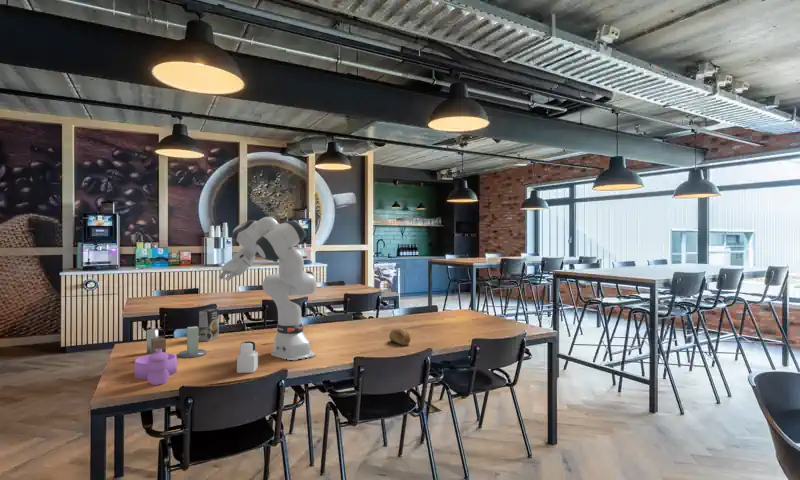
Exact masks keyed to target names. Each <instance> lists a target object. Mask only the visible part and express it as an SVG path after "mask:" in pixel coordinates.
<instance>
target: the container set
mask: <svg viewBox="0 0 800 480" xmlns="http://www.w3.org/2000/svg"><path fill="white" fill-rule="evenodd" d="M177 357H178V355H176V354H175V353H168V352H166V353H165V352H162V349H156V353H153V354H147V355H146V354H145V355H143V356H139V357H137V358H135V359H134V362H133V363H134V367H133V368H134V370H133V371H134V374H133V375H134V376H135V377H136V378H135V377H134V378H135V379H137V378H139V380H147V381H148V383H149V384H150V385H151V384H152V386H160V385H159V384H161V385H164V384H165V383H167V382H168V380H169V378H170V376H172V375H174V374H176V373H177V371H178V370H177V366H178V364H177V363H178V361H177V359H178V358H177Z"/></svg>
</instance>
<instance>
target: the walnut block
mask: <svg viewBox="0 0 800 480" xmlns="http://www.w3.org/2000/svg"><path fill="white" fill-rule="evenodd" d="M166 346H167V339H166V338H165V337H159V338H153V339H151V354H153V353H156V349H162V352H165V353H167V350H166V349H167V347H166ZM151 354H150V355H151Z"/></svg>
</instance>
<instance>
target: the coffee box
mask: <svg viewBox="0 0 800 480" xmlns="http://www.w3.org/2000/svg"><path fill="white" fill-rule="evenodd" d="M198 316H199V317H198V341H199V342H200V341H203V342H209V341H213V340H216V339H219V334H220V332H219V330H220V329H219V328H220V325H219V324H220V320H219V319H220V318H219V317H220V308H208V309H203V310H199V315H198Z"/></svg>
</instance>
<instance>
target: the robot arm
mask: <svg viewBox="0 0 800 480" xmlns="http://www.w3.org/2000/svg"><path fill="white" fill-rule="evenodd" d="M231 237H232V239H233V240H234V242H237V243H238V244H239V245H240V246H241V247H242V248H240V249H239V250H237V252H236V253H235V254H234V255H233V258H232V259H230V260H228V261H227V262H226V263H225V264H224V265H223V266H222V267H221V274H220V275H219V276H218V279H220V280H223V279H225V280H226V281H227V282H229V281H231V279H232V278H235V276H238V277H239V276H241V275H243V274H244V273H245V272H247V270H248V269H249V268H251V267H252V266H253V265H254V264H253V262H254V260H255V258H258V257H262V258H263V260H267V261H269V262H270V261H272V262H274V263H277V262H278V273H273V274H268V275H266V276H265V277H264V279H263V281H262V289H263V292H264V293H265V294H266V295H267V296H269V297H270V298H271V299H272V300H273V302H274V303H275V305H276V309H277V318H278V319H277V325H276V326H277V327H276V332H277V334H276V335H275V337H274V340H273V341H274V343H273V351H271V353H270V354H271V356H272V357H276V358H280V359H283V360H286V359H287V360H286V361H289V360H293V361H299V360H298V359H302V360H306V359H305V358H307V359H310V358H309V357H311V358H313V356H314V357H316V353H315V352H313V351H312V350H311V344H312V343H311V340H310V339H308V337H307V336H306V335H305V333H304V326H303V323H302V308H301V306H300V305H299V304H298V303H296V302H293V301H291V300H290V298H289V297H291V296H293V297H295V296H297V297H298V296H306V295H312V294H314V292H315V291H316V289H317V286H318V283H317V279H316V277H315V276H314V275H313V274H311V273H308V272H306V271H305V270H304V268H305V267H304V266H305V261H304V257H303V253H302V252H301V251H300V250H299V249H297V248H294V247H295V246H296V245H298V244H300V243H301V242H302V241H304V239H305V238H306V232H305V229H304V227H303V226H302V224H301V223H299V222H298V221H295V220H283V222H282V223H279V222H278V221H277V220H276V218H274V217H271V216H264V217H262V218H260V219H259V220H255V219H254V220H253V219H249V220H248V221H245V222H244V223H240V224H238V225H237V226H236V227H235V228H234V229H233V230H232V233H231ZM228 274H229V275H228ZM226 275H227V276H226ZM225 276H226V277H225Z"/></svg>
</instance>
